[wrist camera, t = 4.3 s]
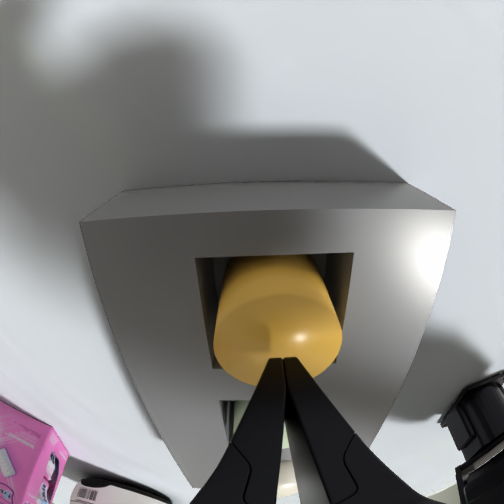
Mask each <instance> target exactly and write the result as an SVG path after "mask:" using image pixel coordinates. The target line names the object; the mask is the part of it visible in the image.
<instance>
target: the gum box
mask: <svg viewBox="0 0 504 504" xmlns="http://www.w3.org/2000/svg"><path fill="white" fill-rule="evenodd" d="M68 456H69V453H68V451H67V450H66V448H65V447H64V445H63V443H62V441H61V440H60V438H59V437H58V435H57V434H56V432H55V430H54V429H53V427H51V426H49V425H46V424H44V423H42V422H40V421H38V420H36V419H34V418H32V417H30V416H28V415H26V414H24V413H22V412H20V411H18V410H16V409H14V408H12V407H11V406H9V405H7V404H5V403H4V402H2V401H0V504H52V501H53V498H54V495H55V492H56V489H57V486H58V484H59V481H60V478H61V475H62V473H63V470H64V467H65V464H66V461H67V459H68Z"/></svg>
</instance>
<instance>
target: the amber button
mask: <svg viewBox="0 0 504 504" xmlns="http://www.w3.org/2000/svg"><path fill="white" fill-rule="evenodd" d="M341 344H342V330H341V326H340V323H339V320H338V318H337V315H336V312H335V310H334V307H333V305H332V302H331V299H330V297H329V294H328V291H327V289H326V286H325V284H324V281H323V279H322V276H321V274H320V271H319V269H318V266H317V264H316V262H315V260H314V259H313V257H312V256H311V255H310V254H294V255H265V256H236V257H232V258H231V259H230V261H229V262H228V264H227V266H226V268H225V271H224V275H223V281H222V287H221V294H220V300H219V307H218V313H217V320H216V327H215V333H214V341H213V348H214V353H215V356H216V358H217V361H218V362H219V364H220V365H221V367H222V368H223V369H224V370H225V371H226V372H227V373H229V374H230V375H231V376H233V377H234V378H236V379H238V380H240V381H242V382H244V383H247V384H250V385H254V386H257V384H258V382H259V379H260V377H261V375H262V373H263V370H264V368H265V366H266V364H267V361H268V359H269V358H278V357H281V358H282V359H283V358H284V357H297V358H298V359H299V361H300V362H301V363H302V364H303V366H304V367H305V368H306V370H307V371H308V372H309V374H310V375H311V376H312V377H313V378H314V377H315V376H317V375H319V374H320V373H322V372H323V371H324V370H325V369H326V368H327V367H329V366H330V364H331V363H332V362H333V361H334V359H335V358H336V356H337V355H338V353H339V350H340V347H341Z"/></svg>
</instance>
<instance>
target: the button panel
mask: <svg viewBox="0 0 504 504" xmlns="http://www.w3.org/2000/svg"><path fill="white" fill-rule="evenodd" d="M455 213H456V210H454V209H453V208H451V207H449V206H448V205H446V204H444V203H442V202H441V201H439V200H437V199H436V198H434V197H432V196H430V195H429V194H427V193H425V192H423V191H421V190H420V189H418V188H416V187H414V186H412V185H410V184H408V183H393V182H367V181H265V182H238V183H218V184H201V185H187V186H174V187H162V188H151V189H141V190H131V191H122V192H121V193H119V194H118V195H116V196H115V197H113V198H112V199H111V200H109V201H108V202H106V203H105V204H103V205H102V206H101V207H99V208H98V209H96V210H95V211H94V212H92V213H91V214H90V215H88V216H87V217H85V218H84V219H83V220H81V221H80V227H81V231H82V235H83V239H84V243H85V247H86V251H87V255H88V259H89V262H90V266H91V269H92V273H93V276H94V279H95V283H96V286H97V289H98V292H99V295H100V298H101V301H102V304H103V307H104V310H105V313H106V316H107V319H108V321H109V324H110V327H111V330H112V332H113V335H114V337H115V340H116V343H117V345H118V348H119V350H120V352H121V355H122V357H123V360H124V362H125V364H126V367H127V369H128V371H129V374H130V376H131V378H132V380H133V382H134V385H135V387H136V389H137V391H138V393H139V395H140V397H141V399H142V401H143V403H144V405H145V407H146V409H147V411H148V413H149V415H150V417H151V419H152V421H153V423H154V425H155V427H156V428H157V430H158V432H159V434H160V436H161V437H162V439H163V441H164V443H165V445H166V446H167V448H168V450H169V451H170V453H171V455H172V456H173V458H174V460H175V461H176V463H177V465H178V466H179V468H180V469H181V471H182V473H183V474H184V476H185V477H186V479H187V480H188V482H189V483H190V485H191V486H192V488H202V487H203V486H204V484H205V483H206V482H207V480H208V479H209V477H210V476H211V474H212V473H213V471H214V470H215V468H216V467H217V465H218V463H219V462H220V460H221V458H222V456H223V454H224V453H225V451H226V449H227V447H228V445H229V443H231V442H230V441H231V439H232V437H233V428H234V406H235V400H250V399H251V397H252V395H253V393H254V390H255V388H256V386H254V385H250V384H247V383H244V382H242V381H240V380H238V379H236V378H234V377H233V376H231V375H230V374H229V373H227V372H226V371H225V370H224V369H223V368H222V367H221V365H220V364H219V362H218V361H217V358H216V356H215V353H214V348H213V341H214V333H215V327H216V320H217V313H218V307H219V300H220V294H221V287H222V281H223V275H224V271H225V268H226V266H227V264H228V262H229V261H230V259H231V258H232V257H236V256H265V255H294V254H310V255H311V256H312V257H313V259H314V260H315V262H316V264H317V266H318V269H319V271H320V274H321V276H322V279H323V281H324V284H325V286H326V289H327V291H328V294H329V297H330V299H331V302H332V305H333V307H334V310H335V312H336V315H337V318H338V320H339V323H340V326H341V330H342V344H341V347H340V350H339V353H338V355H337V356H336V358H335V359H334V361H333V362H332V363H331V364H330V366H329V367H327V368H326V369H325V370H324V371H323V372H322V373H320V374H319V375H317V376H315V377H314V378H313V379H314V380H315V381H316V383H317V384H318V385H319V386H320V388H321V389H322V390H323V392H324V393H325V394H326V395H327V397H328V398H329V399H330V401H331V402H332V403H333V404H334V406H335V407H336V408H337V409H338V411H339V412H340V413H341V415H342V416H343V417H344V418H345V420H346V421H347V422H348V423H349V425H350V426H351V427H352V428H353V430H354V431H355V433H357V434H358V436H359V437H360V438H361V439H362V441H363V442H364V443H365V444H366V445H367V446H368V448H369V447H370V445H371V444H372V442H373V440H374V439H375V437H376V435H377V433H378V432H379V430H380V428H381V426H382V424H383V422H384V421H385V419H386V417H387V415H388V413H389V411H390V409H391V407H392V405H393V403H394V401H395V399H396V397H397V395H398V393H399V391H400V389H401V386H402V384H403V382H404V380H405V378H406V375H407V373H408V371H409V368H410V366H411V364H412V361H413V359H414V356H415V354H416V352H417V349H418V346H419V344H420V341H421V339H422V336H423V333H424V330H425V328H426V325H427V322H428V319H429V316H430V313H431V310H432V307H433V304H434V301H435V297H436V294H437V291H438V287H439V284H440V280H441V276H442V273H443V269H444V265H445V261H446V257H447V253H448V248H449V244H450V239H451V234H452V229H453V224H454V219H455ZM355 433H354V434H355ZM281 460H292V458H291V453H290V448H285V449H282V454H281Z"/></svg>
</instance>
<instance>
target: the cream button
mask: <svg viewBox="0 0 504 504" xmlns="http://www.w3.org/2000/svg"><path fill="white" fill-rule="evenodd" d="M296 493H298V488H297V483H296V478H295V473H294V468H293V463H292V460H281V463H280V473H279V482H278V490H277V498H280V497H286V496H290V495H293V494H296Z"/></svg>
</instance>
